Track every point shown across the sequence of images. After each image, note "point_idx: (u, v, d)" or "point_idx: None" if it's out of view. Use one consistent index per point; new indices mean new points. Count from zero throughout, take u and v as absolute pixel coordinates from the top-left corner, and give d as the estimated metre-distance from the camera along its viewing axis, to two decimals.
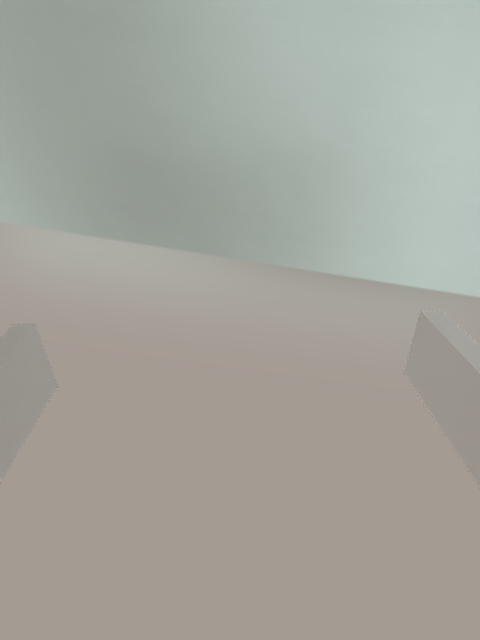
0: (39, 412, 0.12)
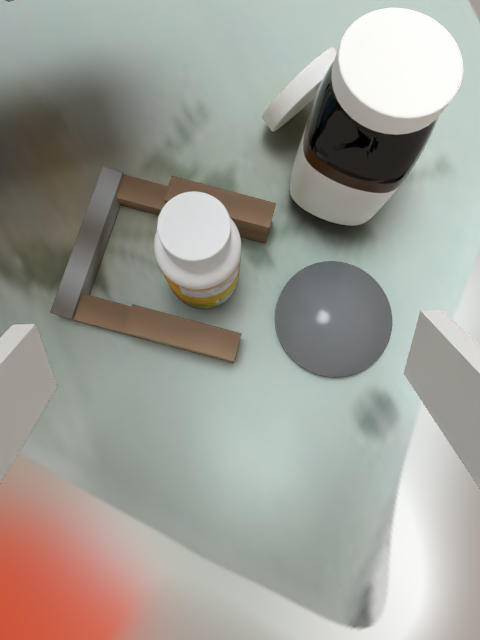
0: (39, 412, 0.12)
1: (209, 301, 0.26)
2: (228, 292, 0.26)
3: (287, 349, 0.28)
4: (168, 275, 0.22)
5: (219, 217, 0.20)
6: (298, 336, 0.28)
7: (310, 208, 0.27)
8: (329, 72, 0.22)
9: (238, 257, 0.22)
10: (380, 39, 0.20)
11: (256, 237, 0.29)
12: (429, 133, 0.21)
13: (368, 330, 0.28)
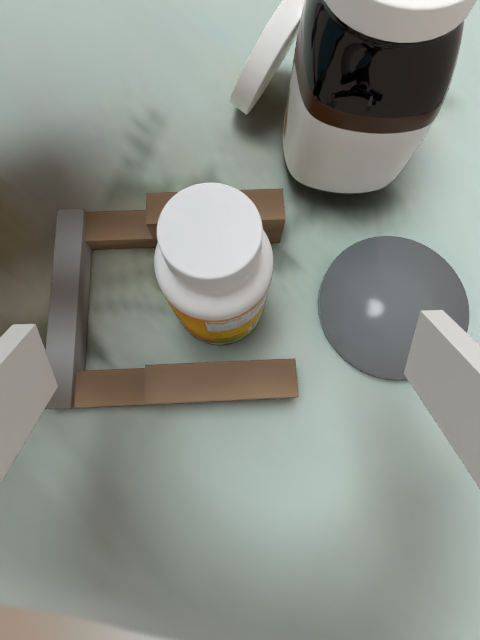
0: (39, 412, 0.12)
1: (241, 330, 0.20)
2: (261, 312, 0.20)
3: (353, 360, 0.21)
4: (188, 310, 0.16)
5: (241, 208, 0.14)
6: (360, 340, 0.22)
7: (324, 183, 0.22)
8: None
9: (272, 259, 0.16)
10: None
11: (268, 237, 0.23)
12: (461, 34, 0.16)
13: (440, 306, 0.22)
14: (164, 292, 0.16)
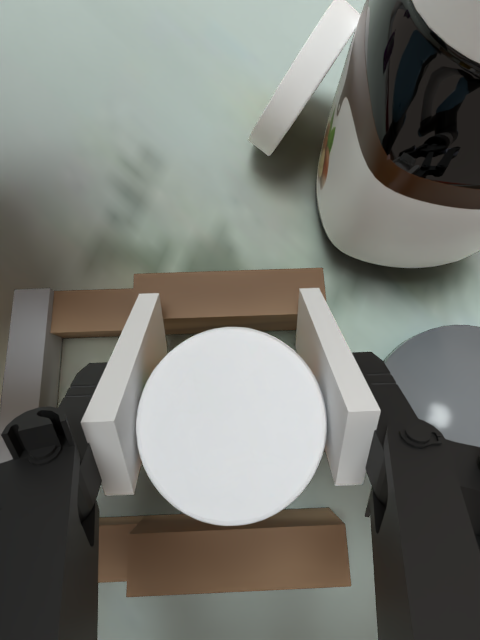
0: None
1: None
2: None
3: None
4: None
5: (286, 380, 0.08)
6: None
7: (379, 258, 0.16)
8: (389, 6, 0.11)
9: (326, 421, 0.10)
10: None
11: None
12: None
13: None
14: None
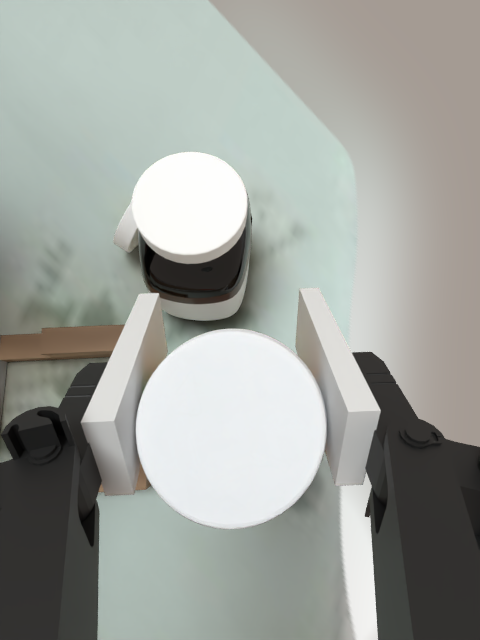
0: None
1: None
2: None
3: None
4: None
5: (287, 383, 0.08)
6: None
7: (180, 317, 0.29)
8: None
9: (326, 423, 0.10)
10: (166, 187, 0.22)
11: None
12: (244, 243, 0.23)
13: None
14: None
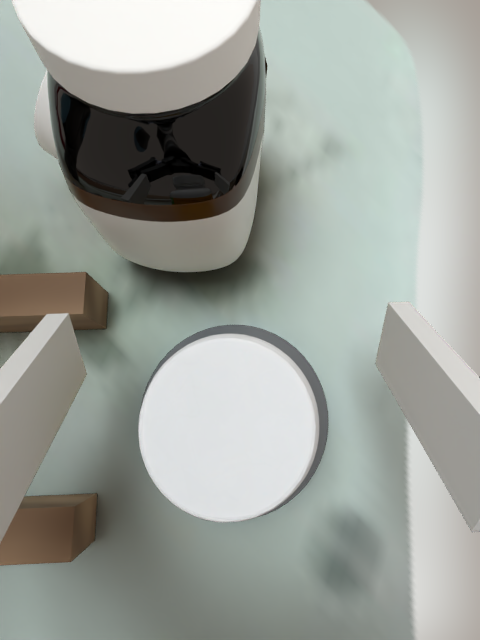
0: (72, 398, 0.13)
1: None
2: None
3: None
4: None
5: (279, 386, 0.08)
6: None
7: (144, 263, 0.17)
8: None
9: (318, 423, 0.11)
10: None
11: (85, 325, 0.18)
12: (252, 93, 0.12)
13: None
14: None
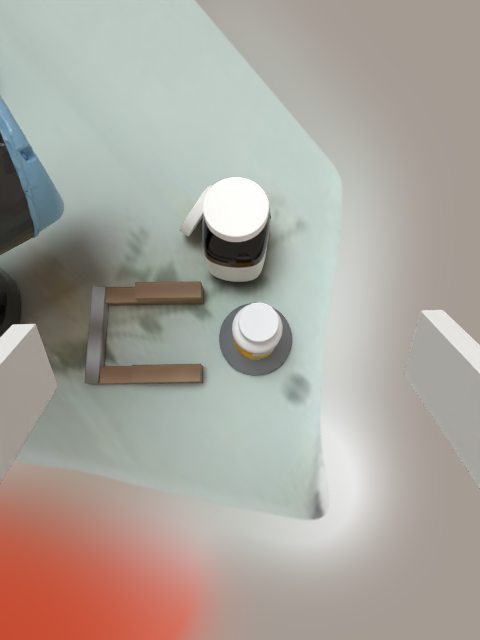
0: (39, 412, 0.12)
1: (266, 355, 0.42)
2: None
3: (232, 365, 0.45)
4: (247, 349, 0.38)
5: (270, 313, 0.36)
6: (236, 355, 0.45)
7: (222, 278, 0.45)
8: None
9: (282, 328, 0.38)
10: (222, 197, 0.38)
11: (196, 302, 0.46)
12: (265, 231, 0.39)
13: None
14: (237, 341, 0.38)
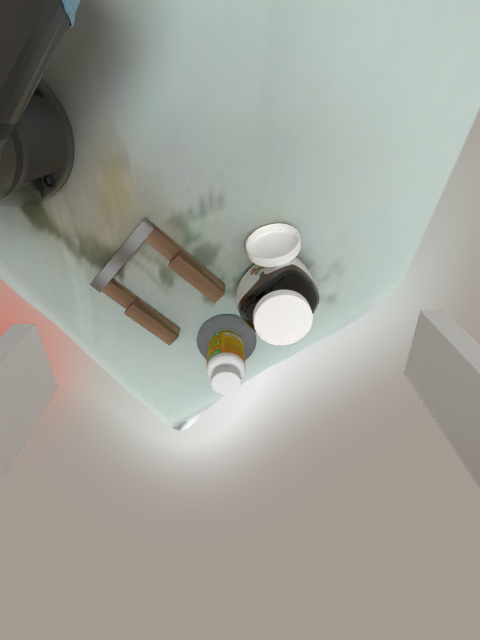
0: (39, 412, 0.12)
1: None
2: None
3: (198, 344, 0.56)
4: (208, 376, 0.50)
5: (236, 385, 0.48)
6: (205, 342, 0.56)
7: None
8: (263, 292, 0.42)
9: None
10: (281, 308, 0.41)
11: None
12: None
13: None
14: (206, 369, 0.50)
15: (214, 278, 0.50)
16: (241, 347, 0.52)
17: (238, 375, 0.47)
